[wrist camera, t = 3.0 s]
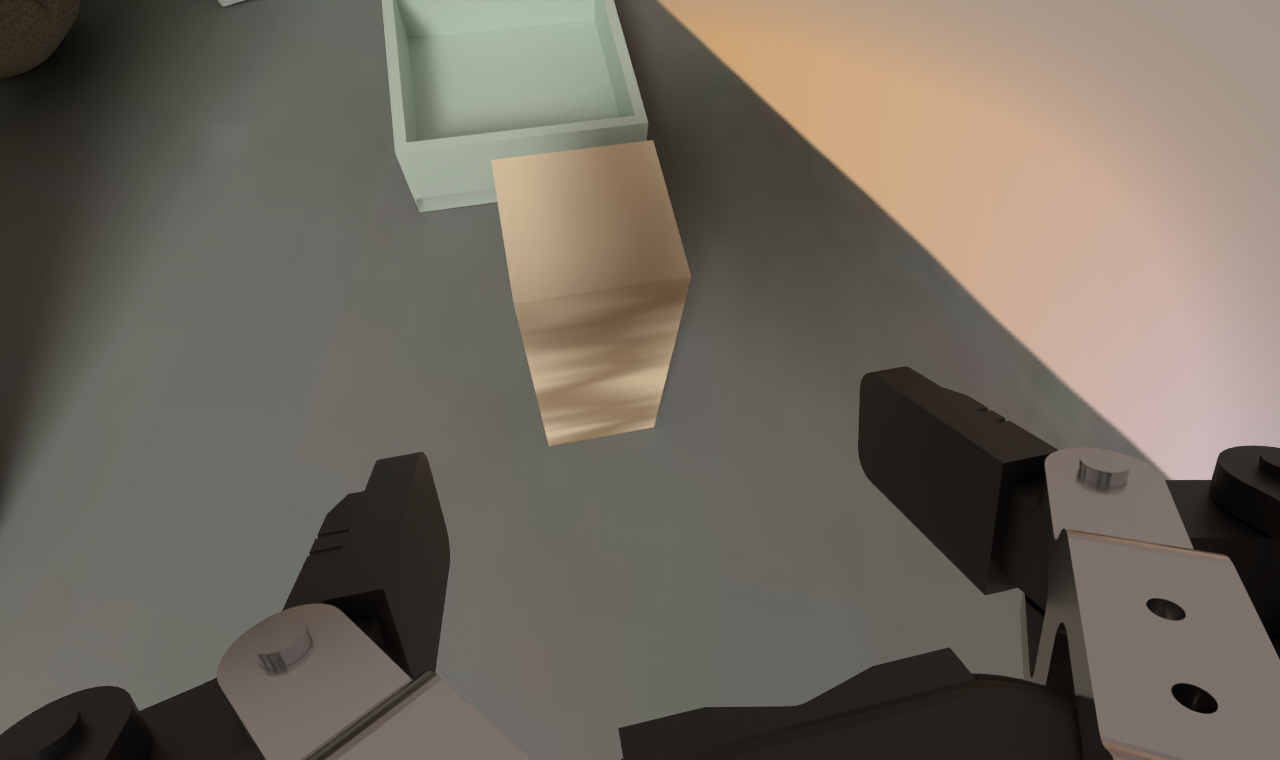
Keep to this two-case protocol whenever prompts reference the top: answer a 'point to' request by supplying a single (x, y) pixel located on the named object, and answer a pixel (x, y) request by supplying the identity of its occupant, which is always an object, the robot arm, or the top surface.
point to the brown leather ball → (32, 32)
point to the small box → (228, 2)
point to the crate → (502, 88)
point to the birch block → (593, 283)
